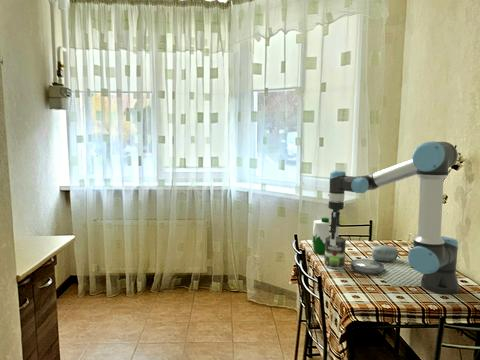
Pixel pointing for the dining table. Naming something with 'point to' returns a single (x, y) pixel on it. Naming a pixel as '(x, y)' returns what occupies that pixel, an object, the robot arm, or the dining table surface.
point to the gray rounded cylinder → (384, 253)
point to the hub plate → (367, 267)
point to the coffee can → (335, 253)
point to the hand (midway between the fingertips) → (334, 241)
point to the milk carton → (320, 235)
